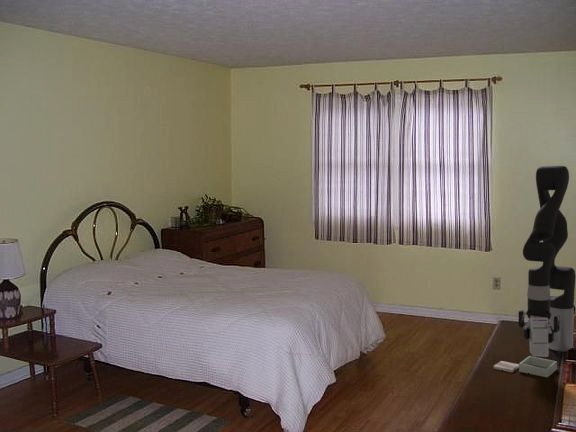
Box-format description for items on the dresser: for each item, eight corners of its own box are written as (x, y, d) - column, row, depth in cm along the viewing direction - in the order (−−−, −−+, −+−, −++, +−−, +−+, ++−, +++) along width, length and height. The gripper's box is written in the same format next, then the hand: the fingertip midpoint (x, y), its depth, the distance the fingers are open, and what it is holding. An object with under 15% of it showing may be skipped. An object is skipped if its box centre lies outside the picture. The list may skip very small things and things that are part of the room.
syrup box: (549, 357, 219) (549, 317, 217) (531, 356, 220) (531, 317, 218) (545, 351, 224) (545, 313, 222) (528, 351, 225) (528, 312, 224)
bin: (529, 363, 229) (529, 356, 229) (556, 369, 223) (556, 361, 222) (519, 371, 222) (519, 363, 222) (547, 377, 215) (547, 369, 215)
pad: (501, 363, 231) (501, 360, 231) (519, 367, 226) (519, 364, 226) (493, 368, 226) (493, 365, 226) (512, 372, 221) (512, 369, 221)
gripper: (563, 297, 218) (562, 341, 220) (522, 292, 227) (522, 334, 229) (556, 301, 212) (555, 347, 214) (514, 296, 221) (515, 340, 223)
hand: (538, 340), depth 221 cm, fingers closed on syrup box, 7 cm apart
